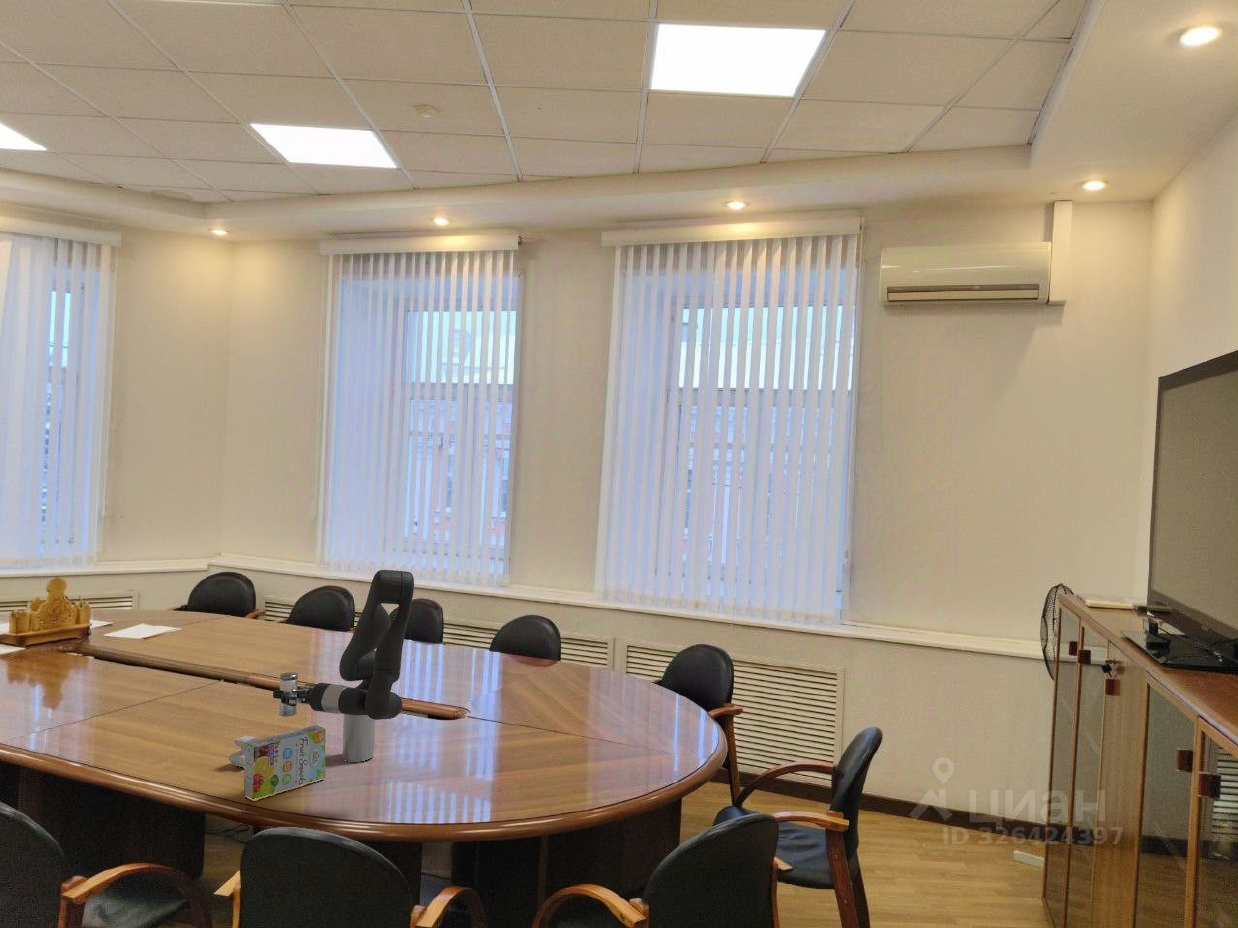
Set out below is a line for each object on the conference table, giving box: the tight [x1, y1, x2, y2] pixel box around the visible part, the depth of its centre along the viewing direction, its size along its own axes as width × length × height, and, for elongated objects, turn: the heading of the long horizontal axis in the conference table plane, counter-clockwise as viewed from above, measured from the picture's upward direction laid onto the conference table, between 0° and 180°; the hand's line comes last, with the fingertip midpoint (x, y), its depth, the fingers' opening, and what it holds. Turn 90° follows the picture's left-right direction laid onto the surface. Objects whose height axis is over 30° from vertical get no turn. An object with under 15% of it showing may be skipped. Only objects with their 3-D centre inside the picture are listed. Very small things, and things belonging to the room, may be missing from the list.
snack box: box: [243, 724, 327, 799], centre depth 228 cm, size 21×6×15 cm, turn 141°
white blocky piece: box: [228, 735, 257, 768], centre depth 243 cm, size 9×7×8 cm
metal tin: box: [278, 671, 299, 718], centre depth 228 cm, size 5×5×11 cm
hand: (280, 691), depth 229 cm, fingers closed on metal tin, 4 cm apart
